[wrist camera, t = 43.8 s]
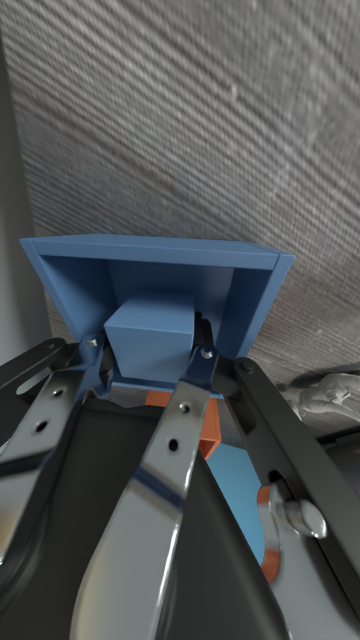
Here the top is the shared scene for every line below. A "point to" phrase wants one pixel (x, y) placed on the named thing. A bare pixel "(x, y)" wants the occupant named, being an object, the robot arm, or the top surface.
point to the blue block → (153, 335)
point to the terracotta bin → (210, 427)
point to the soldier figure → (329, 395)
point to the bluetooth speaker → (348, 458)
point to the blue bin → (160, 284)
